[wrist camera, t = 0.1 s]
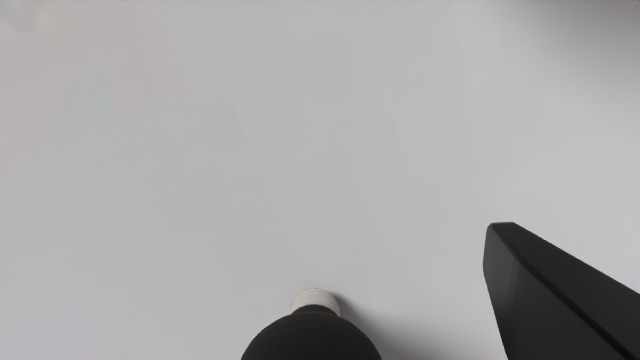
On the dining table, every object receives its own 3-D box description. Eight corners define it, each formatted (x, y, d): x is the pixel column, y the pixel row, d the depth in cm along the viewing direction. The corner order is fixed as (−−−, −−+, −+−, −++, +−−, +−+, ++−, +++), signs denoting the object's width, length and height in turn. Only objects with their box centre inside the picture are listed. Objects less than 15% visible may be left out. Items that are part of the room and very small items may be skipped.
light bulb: (361, 239, 25) (382, 354, 16) (381, 343, 27) (412, 508, 17) (246, 261, 26) (197, 386, 16) (272, 362, 27) (241, 534, 17)
